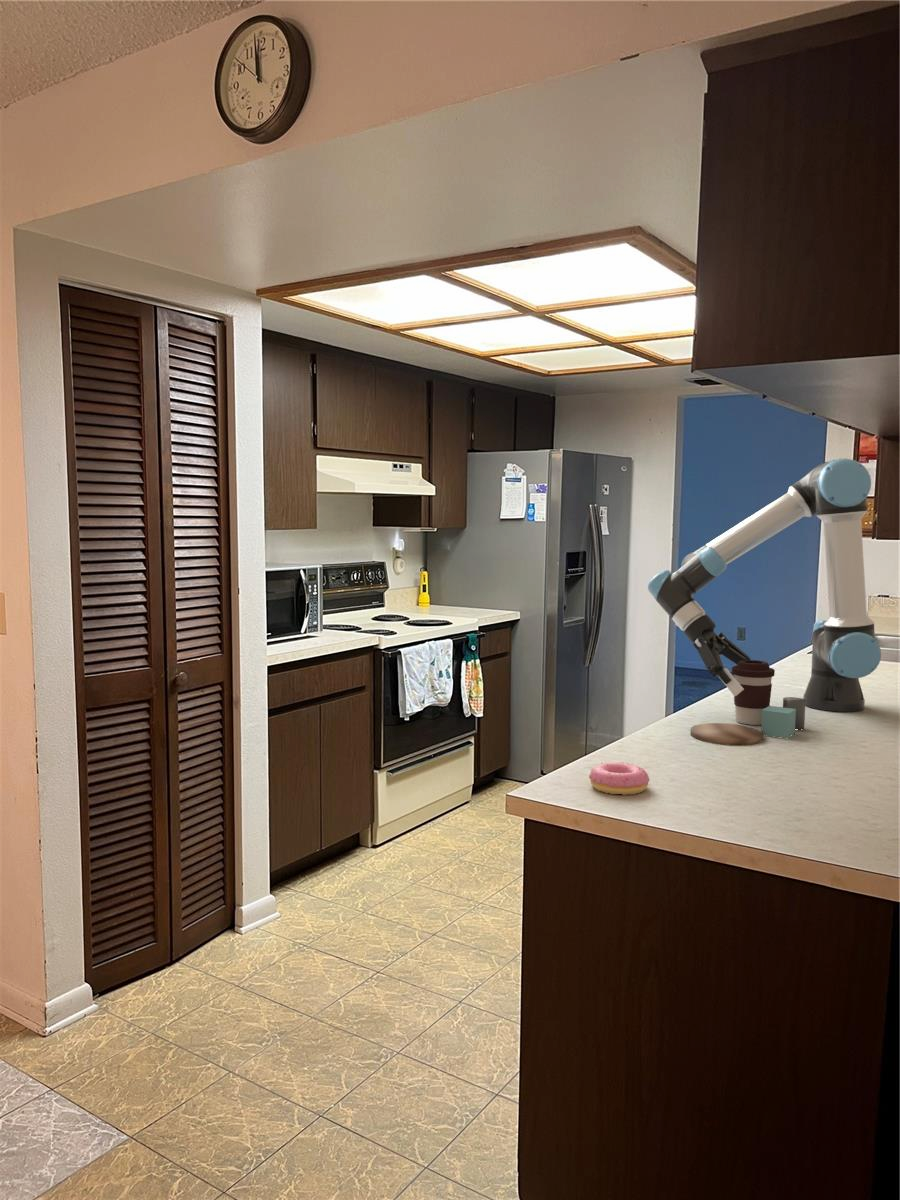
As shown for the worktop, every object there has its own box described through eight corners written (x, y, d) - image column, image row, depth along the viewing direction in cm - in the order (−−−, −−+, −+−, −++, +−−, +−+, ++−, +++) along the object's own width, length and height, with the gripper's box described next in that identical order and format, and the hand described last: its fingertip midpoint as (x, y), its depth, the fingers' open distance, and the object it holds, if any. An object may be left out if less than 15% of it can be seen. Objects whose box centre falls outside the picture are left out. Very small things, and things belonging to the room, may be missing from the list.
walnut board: (739, 726, 217) (739, 721, 217) (777, 743, 202) (777, 737, 202) (678, 729, 214) (678, 724, 214) (712, 746, 198) (712, 741, 198)
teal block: (768, 730, 214) (769, 705, 213) (794, 734, 210) (795, 709, 210) (760, 735, 209) (762, 710, 208) (787, 739, 206) (788, 713, 205)
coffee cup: (726, 724, 220) (728, 663, 219) (734, 716, 229) (736, 657, 228) (769, 728, 216) (771, 666, 214) (775, 720, 224) (777, 660, 223)
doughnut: (661, 789, 167) (661, 767, 167) (625, 802, 160) (626, 778, 159) (612, 777, 175) (613, 755, 175) (576, 788, 168) (577, 766, 167)
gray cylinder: (796, 725, 219) (797, 696, 219) (808, 729, 215) (809, 700, 214) (777, 726, 218) (778, 697, 218) (789, 730, 214) (791, 701, 213)
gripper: (705, 628, 241) (758, 691, 233) (662, 637, 222) (718, 706, 214) (725, 609, 237) (780, 673, 229) (683, 617, 218) (741, 686, 210)
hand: (750, 689), depth 221 cm, fingers open, 13 cm apart
